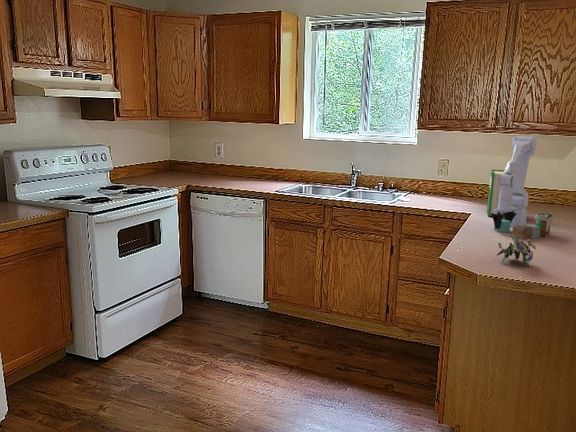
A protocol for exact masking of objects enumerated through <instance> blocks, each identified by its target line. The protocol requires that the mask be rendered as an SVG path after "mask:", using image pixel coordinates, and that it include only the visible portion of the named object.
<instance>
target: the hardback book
mask: <svg viewBox="0 0 576 432" xmlns="http://www.w3.org/2000/svg"><path fill="white" fill-rule="evenodd" d="M504 170H505V169H490V175H489V186H488V194H487V195H488V196H487V205H486V206H487V207H486V214H487V217H488V218H490V217H492V216H491V213H492V212H493V209H496V208H498V202H499V193H500V189H499V177H500V175H502V174H503V173H504ZM500 214H501V215H504V213H500Z"/></svg>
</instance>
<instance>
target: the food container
mask: <svg viewBox="0 0 576 432" xmlns="http://www.w3.org/2000/svg"><path fill="white" fill-rule="evenodd" d="M552 218H553V212H543V211H542V212H537V213H536V214H535V216H534V219H535V226H540V227H541V230H540V237H539V238H543V239H546V238H547V237H548V236H549V235H550V230H551V225H552V220H553V219H552Z"/></svg>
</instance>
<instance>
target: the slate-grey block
mask: <svg viewBox="0 0 576 432" xmlns="http://www.w3.org/2000/svg"><path fill="white" fill-rule="evenodd" d="M524 226H525V227H529V228H530V231H529V238H530V239H537V238H541V237H540V230H541V227H540V226H536V224H526V225H524ZM529 238H528V239H529Z"/></svg>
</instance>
